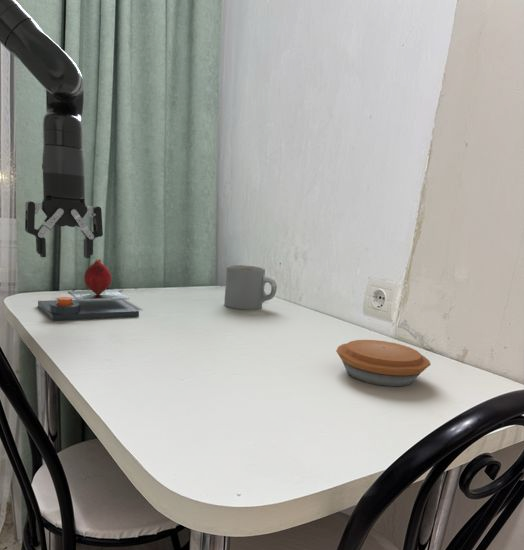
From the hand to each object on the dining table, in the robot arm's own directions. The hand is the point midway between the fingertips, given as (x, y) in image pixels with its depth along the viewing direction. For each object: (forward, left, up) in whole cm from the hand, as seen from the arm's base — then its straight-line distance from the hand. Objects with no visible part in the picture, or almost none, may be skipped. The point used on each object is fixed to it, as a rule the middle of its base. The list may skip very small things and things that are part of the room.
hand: (65, 257), depth 102 cm
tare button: (0, 0, -10) cm, 10 cm away
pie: (+39, -52, -13) cm, 66 cm away
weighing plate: (+9, +7, -10) cm, 14 cm away
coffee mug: (+47, +2, -13) cm, 48 cm away
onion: (+9, +7, -9) cm, 14 cm away
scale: (+6, +4, -13) cm, 14 cm away
